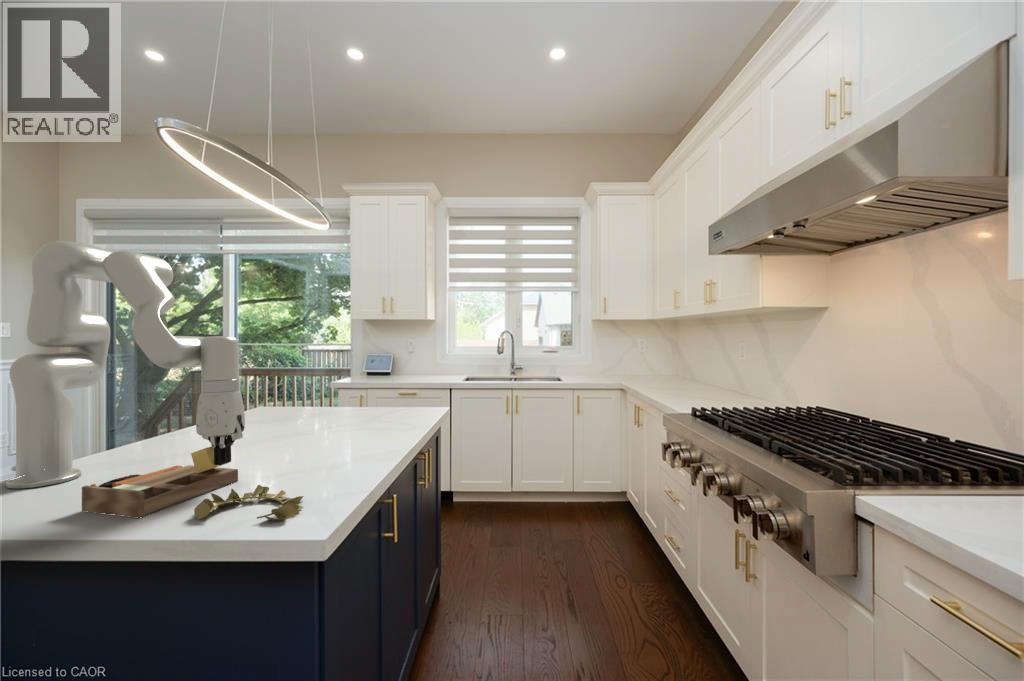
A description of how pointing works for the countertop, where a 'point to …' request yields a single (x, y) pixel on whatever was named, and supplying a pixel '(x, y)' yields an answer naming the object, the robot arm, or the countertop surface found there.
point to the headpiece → (283, 512)
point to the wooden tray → (155, 491)
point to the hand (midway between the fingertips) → (222, 463)
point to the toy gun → (132, 478)
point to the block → (204, 459)
